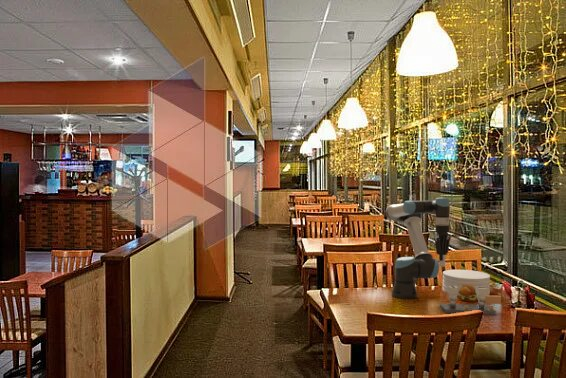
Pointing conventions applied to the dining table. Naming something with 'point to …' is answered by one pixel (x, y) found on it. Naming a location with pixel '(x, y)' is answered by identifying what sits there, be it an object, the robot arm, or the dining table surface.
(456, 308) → the lock plate
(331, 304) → the dining table surface
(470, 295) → the cheeseburger
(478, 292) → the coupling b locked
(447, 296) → the coupling
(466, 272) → the plate stack
